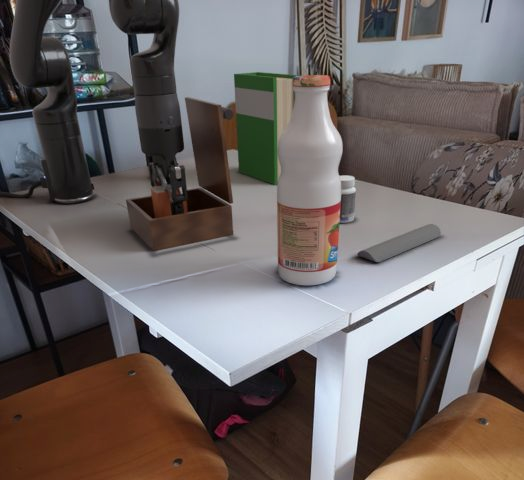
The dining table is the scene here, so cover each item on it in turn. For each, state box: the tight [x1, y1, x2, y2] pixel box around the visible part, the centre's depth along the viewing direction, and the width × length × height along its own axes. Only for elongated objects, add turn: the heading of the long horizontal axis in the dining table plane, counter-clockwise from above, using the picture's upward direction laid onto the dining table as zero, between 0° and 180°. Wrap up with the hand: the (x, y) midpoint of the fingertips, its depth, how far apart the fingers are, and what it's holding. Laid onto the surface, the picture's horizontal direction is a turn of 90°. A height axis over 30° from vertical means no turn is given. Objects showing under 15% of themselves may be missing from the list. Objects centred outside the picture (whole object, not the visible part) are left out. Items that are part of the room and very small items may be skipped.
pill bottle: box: [339, 174, 357, 224], centre depth 100 cm, size 5×5×8 cm
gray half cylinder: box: [356, 223, 442, 263], centre depth 88 cm, size 4×20×2 cm, turn 130°
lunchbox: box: [125, 187, 234, 252], centre depth 95 cm, size 16×15×6 cm
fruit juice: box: [276, 74, 344, 286], centre depth 72 cm, size 9×9×28 cm
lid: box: [184, 96, 235, 205], centre depth 93 cm, size 16×15×5 cm
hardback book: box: [233, 71, 300, 185], centre depth 128 cm, size 18×7×24 cm, turn 33°
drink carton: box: [149, 186, 188, 218], centre depth 94 cm, size 5×4×8 cm
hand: (171, 216), depth 94 cm, fingers open, 7 cm apart
